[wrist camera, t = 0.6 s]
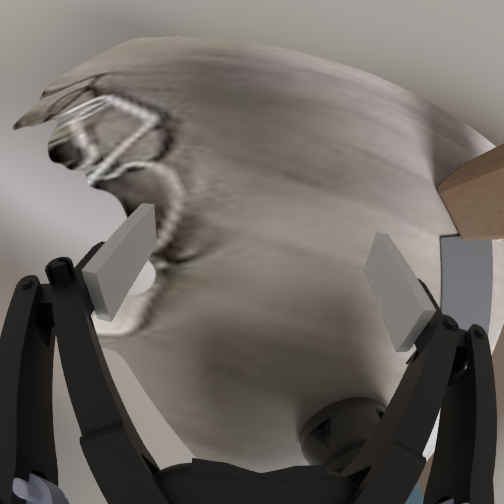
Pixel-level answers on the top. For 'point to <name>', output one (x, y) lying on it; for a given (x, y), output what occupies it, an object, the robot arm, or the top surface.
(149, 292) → the top surface
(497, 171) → the block
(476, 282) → the mat
